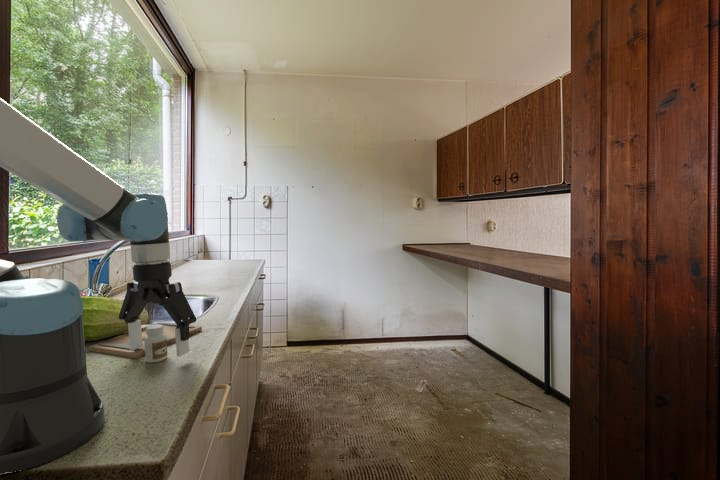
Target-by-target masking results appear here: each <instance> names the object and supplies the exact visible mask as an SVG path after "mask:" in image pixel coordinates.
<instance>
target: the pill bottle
mask: <svg viewBox="0 0 720 480" xmlns="http://www.w3.org/2000/svg"><path fill="white" fill-rule="evenodd" d="M151 325H152V326H150V325H147V326H148V327H147V326H146V327H147V328H146V334H147V335H148V336H146V337H145V339H144V344H145V355H144V359H145V362H147V363H157V362H158V363H159V362H162V361H163V360H166V359H167V358H168V345H167V339H166V335H165V334H164V333H163V325H161V324H158V325H153V324H151Z"/></svg>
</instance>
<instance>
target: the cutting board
mask: <svg viewBox="0 0 720 480" xmlns="http://www.w3.org/2000/svg"><path fill="white" fill-rule="evenodd" d="M158 324H161V325H163V333H164V334H165V335H166V339H167V346H169V345H172V344H174V343H176V337H175V328H176V327H177V324H176V323H171V322H163V321H159V322H156V323H153V324H151V325H147V326H144V327H141V329H142V341H143V346H142V347H140V348H138V349H135V350H133V351H132V350H130V343H129V335H128V332H126V333H123V334H120V335H117V336H114V337H112V338H109V339H107V340H104V341H100V342H98V343H95V344H93V345H92V344H91V345H89V351H90V352H94V353H99V354H108V355H113V356H119V357H127V358H132V359H138V358H142V357H143V356H144V357H145V344H144V339H145V337H146V336H148V335H147V334H146V328H147V327H148V326H152V325H158ZM202 327H203V326H201V325H191V324H190V325H189V333H190V334H189V335H190V336H192V335H191V334H193V333H195V334H197V333H199V332H198V331H200V330H202ZM202 331H203V330H202ZM196 332H197V333H196ZM200 332H201V331H200ZM193 335H194V334H193Z"/></svg>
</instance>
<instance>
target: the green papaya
mask: <svg viewBox="0 0 720 480" xmlns="http://www.w3.org/2000/svg"><path fill="white" fill-rule="evenodd" d="M80 296H81V300H82V302H83V324H84V338H85V342H94V341H99V340H103V339H107V338H111V337H112V338H113V337H117V336H121V335H124V334H126V333H128V330H127V323H126V322H125V320H123V319H122V320H120V319H119V314H120V311H121V307H122V304H123V301H124V300H121V299H117V298H112V297H106V296H102V295H101V296H99V295H97V296H96V295H93V296H92V295H80ZM126 313H127V312H126ZM139 318H140V319H137V320H141V326H144V325H145V324H147V323H148V320H149V318H150V317H149V313H148V311H147V310H146V309H144V310H143V311H142V313H141V314H140V316H139ZM137 320H136V321H137Z"/></svg>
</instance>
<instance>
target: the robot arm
mask: <svg viewBox="0 0 720 480" xmlns="http://www.w3.org/2000/svg"><path fill="white" fill-rule="evenodd" d="M0 168H3V169H4V170H5V171H7V172H9V173H11V174H12V175H14V176H15V177H17V178H19V179H20V180H22V181H24V182H25V183H27V184H29V185H30V186H33V187H34V188H36V189H38V190H39V191H41V192H42V193H45V194H46V195H48V196H49V197H51V198H53V199H55V200H56V201H58V202H59V203H61V205H60V206H59V208H58V210H57V215H56V222H57V223H56V224H57V229H58V232H59V235H60V236H61V237H62V238H63V239H64V240H66V241H67V242H71V243H72V242H84V243H85V242H88V241H120V242H121V241H123V242H130V244H129V245H130V254H131V255H130V257H131V259H130V260H131V262H132V263H134V264H133V265H132V275H133V281H130V282H127V283H126V292H125V296H124V299H123V300H122V301H123V304H122V307H121V311H120V314H119V319H120V320H122V319H123V320H125V322H126V323H127V330H128V331H127V333H128V335H129V343H130V350H132V351H133V350H135V349H138V348H140V347H142V346H143V341H142V329H141V328H142V325H141V320H137V319H140V318H139V316H140V314H141V313H142V311H143V310H145V308H146V307H147V306H148V304H150V303H152V304H158V305H159V306H162V308H163V309H164V310H165V312H166V313H167V314H168V316H170V318H171V319H172V320H173V322H174V324H177V327H176V328H175V337H176V342H175V346H176V348H175V349H176V357H182V356H183V355H185V354H188V353H189V352H190V347H189V345H190V344H189V340H190V338H191V337H190V336H191V335H189V334H190V333H189V325H191V324H193V323H196V322H197V321H198V320H197V318H196V315H195V313H194V311H193V309H192V307H191V305H190V304H189V302H188V299H187V297H186V295H185V294H184V291H183V287H182V283H181V281H178V282H174V283H170V278H171V277H172V275H173V274H172V273H173V272H172V263H171V261H169V260H170V259H171V251H170V250H171V249H170V239H169V238H170V237H169V234H170V233H169V224H168V223H169V216H168V215H169V213H168V210H167V202H166V199H165V197H164V196H163V195H162V194H159V193H132V192H131V191H129V190H128V189H127V188H125V187H124V186H123V185H121V184H119V183H118V182H116V181H115V180H114V179H112V178H111V177H110V176H108V175H107V174H106V173H104V172H103V171H101V170H100V169H99V168H97V167H96V166H94V165H93V164H92V163H90V162H89V161H87V160H86V159H85V158H84V157H82V156H80V155H79V154H78V153H76V152H75V151H74V150H72V149H71V148H69V146H67V145H66V144H65V143H63V142H61V141H60V140H59V139H57V138H56V137H55V136H53V135H52V134H51V133H50V132H48V131H47V130H45V129H43V128H42V127H41V126H39V125H38V124H37V123H35V122H34V121H33V120H31V119H30V118H29V117H28V116H26V115H24V114H23V113H22V112H20V111H19V110H17V109H16V108H15V107H13V106H12V105H11V104H9V103H7V101H5V100H4V99H2V98H1V97H0ZM81 296H82V295H81V292H80V289H79V287H78V286H77V285H76V284H75V283H74V282H71V281H67V280H65V279H64V280H63V279H59V278H49V279H48V278H25V276H24V275H23V274H22V272H21V271H20V269H19V268H18V267H17V265H16V263H14V262H13V261H9V260H5V259H0V473H5V472H15V471H19V472H23V471H25V470H24V469H26V470H29V469H28V468H30V469H33V468H37V467H38V466H41V465H44V464H46V463H48V461H49V462H51V461H53V460H56V459H57V458H60V457H62V456H64V455H65V454H69V453H70V452H72V451H75V450H76V449H77V448H78V447H80V446H82V445H83V444H85V443H86V442H87V441H89V440H90V439H92V438H93V437H94V436H95V435H96V434H97V433H99V431H100V430H101V429H102V427H103V425H104V424H105V420H106V419H105V418H106V417H105V407H104V404H103V402H102V400H101V398H100V396H99V395H98V393H97V391H96V389H95V387H94V386H93V383H92V382H91V380H90V378H89V377H88V369H87V367H88V366H87V355H86V353H87V352H86V343H85V338H84V324H83V302H82V300H81ZM126 312H127V313H126ZM136 320H137V321H136ZM43 463H44V464H43ZM32 467H33V468H32ZM20 470H21V471H20ZM22 470H23V471H22Z"/></svg>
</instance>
